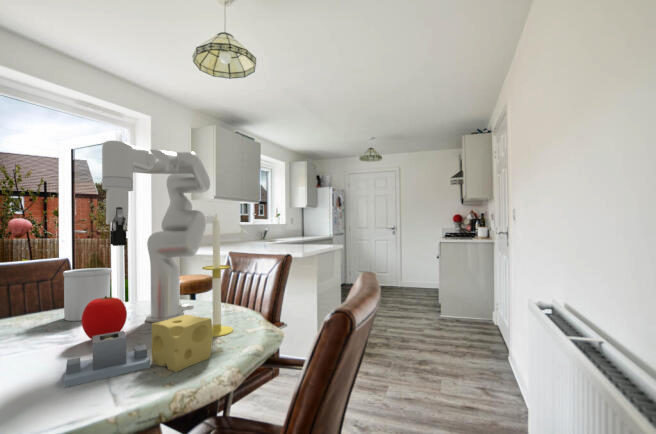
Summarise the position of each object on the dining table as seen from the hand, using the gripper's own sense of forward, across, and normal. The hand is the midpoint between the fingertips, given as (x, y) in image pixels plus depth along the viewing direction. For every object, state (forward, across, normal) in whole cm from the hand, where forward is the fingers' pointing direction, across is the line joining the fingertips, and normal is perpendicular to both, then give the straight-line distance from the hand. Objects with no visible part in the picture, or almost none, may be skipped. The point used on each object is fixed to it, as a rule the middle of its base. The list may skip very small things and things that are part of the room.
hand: (118, 244), depth 96 cm
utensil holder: (+28, -44, -7) cm, 53 cm away
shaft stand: (+28, +18, -3) cm, 34 cm away
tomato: (+28, -8, -3) cm, 30 cm away
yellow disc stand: (+28, +6, +26) cm, 39 cm away
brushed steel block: (+27, +18, -3) cm, 32 cm away
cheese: (+29, +23, +12) cm, 39 cm away
